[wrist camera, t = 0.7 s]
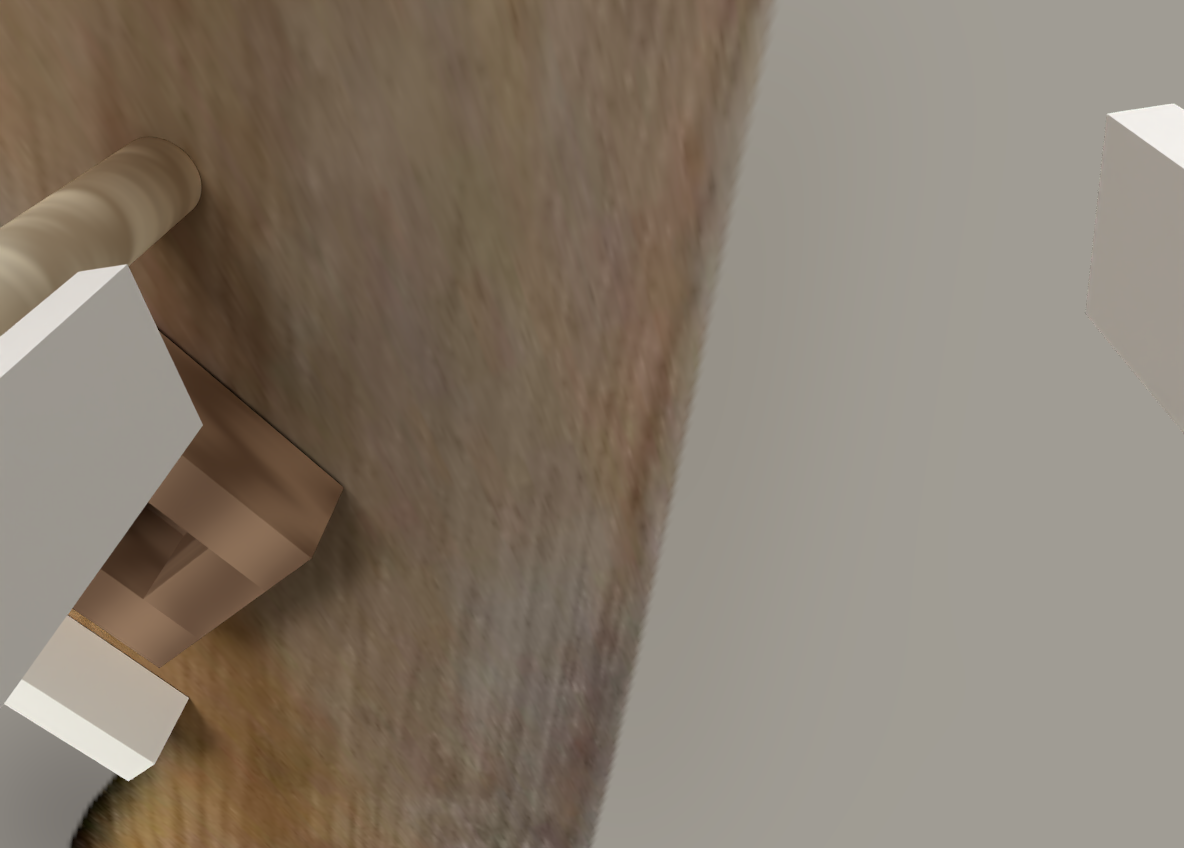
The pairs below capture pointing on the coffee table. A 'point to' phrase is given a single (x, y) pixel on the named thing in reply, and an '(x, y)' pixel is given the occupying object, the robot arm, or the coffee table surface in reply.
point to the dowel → (95, 222)
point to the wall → (98, 700)
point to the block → (211, 528)
